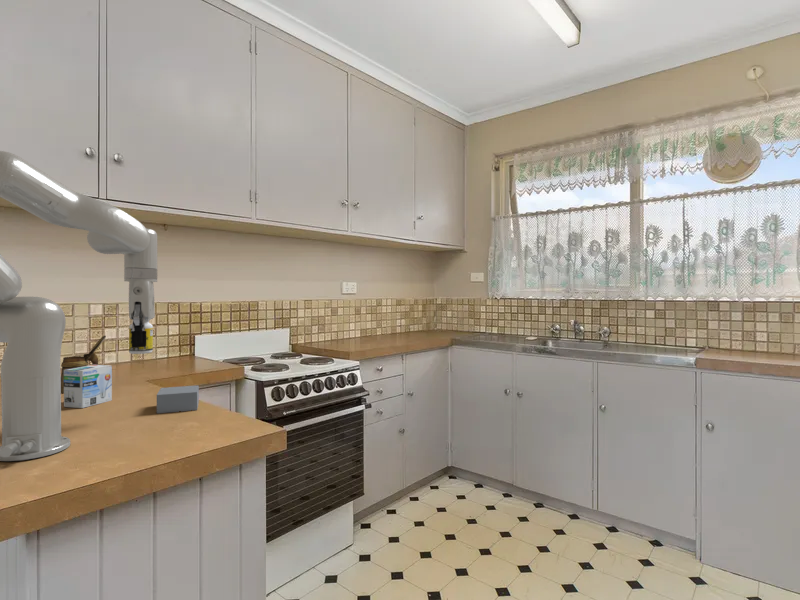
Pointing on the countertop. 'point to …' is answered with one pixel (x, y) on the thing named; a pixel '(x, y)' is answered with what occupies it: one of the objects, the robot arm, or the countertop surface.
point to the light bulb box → (87, 386)
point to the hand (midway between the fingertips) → (140, 345)
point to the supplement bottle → (149, 339)
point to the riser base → (177, 399)
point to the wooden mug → (79, 361)
